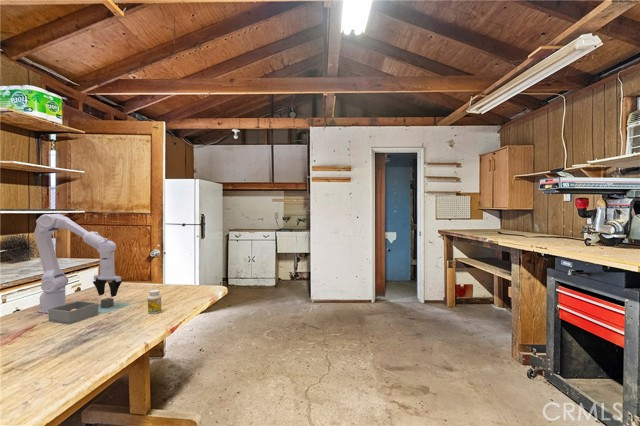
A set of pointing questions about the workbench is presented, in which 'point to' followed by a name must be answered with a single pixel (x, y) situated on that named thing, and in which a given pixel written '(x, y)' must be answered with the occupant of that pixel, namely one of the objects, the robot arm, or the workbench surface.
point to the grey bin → (73, 312)
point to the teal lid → (109, 305)
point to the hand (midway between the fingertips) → (107, 295)
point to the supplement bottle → (154, 302)
